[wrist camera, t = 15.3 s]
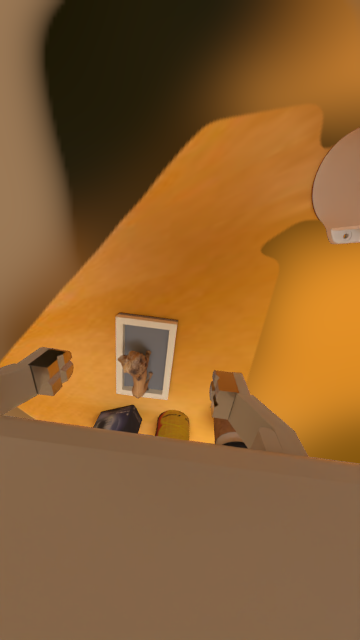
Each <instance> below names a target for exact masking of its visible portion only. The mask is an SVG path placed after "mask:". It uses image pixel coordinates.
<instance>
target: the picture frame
mask: <svg viewBox="0 0 360 640" xmlns="http://www.w3.org/2000/svg"><path fill="white" fill-rule="evenodd" d="M177 323H178V320H173V319H165V318H157V317H150V316H142V315H134V314H126V313H119V314H118V315H117V316H116V394H123V395H131V396H133V394H132V388H133V385H134V382H133V376H131V374H128V373H124V372H123V367H122V365H121V363H120V362H119V361H118V360H117V359H118V358H119V357H120V356H121V355H124V354H125V355H128V354H129V352H130V351H135V352H139V353H143V355H145V354H146V351H148V350H149V351H151V355H150V356H149V362H148V367H147V369H146V370H147V377H148V373H149V372H152V373H153V375H152V377H151V378H150V381H149V383H148V387H147V388H148V390H146V392H145V394H144V395H143V396H142V397H147V398H155V399H163V400H168V392H169V385H170V377H171V369H172V362H173V354H174V346H175V339H176V331H177ZM145 356H146V355H145ZM146 379H147V378H146Z"/></svg>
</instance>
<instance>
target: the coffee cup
mask: <svg viewBox="0 0 360 640" xmlns="http://www.w3.org/2000/svg"><path fill="white" fill-rule="evenodd" d="M214 434H215V444H218V445H225V446H232V447H240V448H247V446H246V445H245V443H244V442H243V441H242V439H241V438H240V436H239V435H238V434H237V432H236V431H235V429H234V428H233V427H232V425H231V424H230V422H229V421H228V420H226V419H220V418H214ZM247 449H248V448H247Z"/></svg>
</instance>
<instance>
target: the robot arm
mask: <svg viewBox="0 0 360 640" xmlns="http://www.w3.org/2000/svg"><path fill="white" fill-rule="evenodd" d="M313 206H314V209H315V212H316V215H317V216H318V218H319V220H320V221H321V222H322V223H323V224H324V226H325V228H326V232H327V237H328V240H329V242H330V243H331V244H345V243H357V242H360V127H359V128H357V129H355V130H354V131H352V132H350V133H349V134H347V135H346V136H345V137H343V138H342V139H341V140H340V141H338V142H337V143H336V144H335V145H334V147H333V148H332V149H331V150H330V151H329V153H328V154H327V155H326V157H325V158H324V160H323V162H322V163H321V165H320V167H319V170H318V172H317V175H316V178H315V181H314V186H313ZM344 234H345V238H343V236H344ZM71 358H72V354H71V352H70V351H66V350H59V349H53V348H52V349H51V348H45V347H42V348H39V349H38V350H36V351H35V352H33V353H32V354H30V355H29V356H27V357H26V358H25V359H23V360H22V361H20V362H19V363H17V364H11V365H8V366H4V367H1V368H0V640H360V464H357V463H349V462H343V461H335V460H328V459H321V458H313V457H308V455H307V453H306V451H305V450H304V448H303V446H302V444H301V442H300V440H299V439H298V437H297V435H296V433H295V431H294V430H292V429H291V428H290V427H289V426H288V425H287V424H286V423H285V422H283V421H282V420H281V419H280V418H279V417H277V416H276V415H275V414H274V413H272V411H271V410H269V409H268V408H267V407H266V406H265V405H264V404H262V403H261V402H260V401H259V400H258V399H257V398H256V397H254V396H253V395H250V393H249V390H248V388H247V385H246V382H245V380H244V377H243V375H242V374H241V373H235V372H224V371H216V370H214V372H213V381H212V382H211V385H210V400H211V401H212V403H211V412H212V417H214V418H220V419H226V420H228V421H229V422H230V424H231V425H232V427H233V428H234V429H235V431H236V432H237V434H238V435H239V436H240V438H241V439H242V441H243V442H244V443H245V445H246V446H247V448H248V449H247V448H240V447H232V446H225V445H218V444H210V443H203V442H195V441H188V440H180V439H173V438H166V437H159V436H151V435H144V434H137V433H129V432H122V431H115V430H107V429H100V428H93V427H85V426H78V425H70V424H63V423H56V422H48V421H41V420H34V419H26V418H19V417H11V416H4V415H3V414H5V413H6V412H8V411H10V410H12V409H13V408H15V407H17V406H19V405H21V404H22V403H24V402H26V401H28V400H29V399H31V398H33V397H35V396H36V395H37V394H40V395H50V396H54V395H55V394H56V393H57V392H58V391H59V390H60V388H61V387H62V383H64V382H66V381H68V379H69V378H70V377H71V375H72V373H73V363H72V362H71V361H70V360H71Z"/></svg>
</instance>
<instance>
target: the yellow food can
mask: <svg viewBox="0 0 360 640" xmlns="http://www.w3.org/2000/svg"><path fill="white" fill-rule="evenodd" d="M155 436H159V437H166V438H173V439H180V440H188V441H189V419H188V417H187V416H186V415H185V414H184V413H182V412H180V411H176V410H169V411H166V412H163V413H162V414H161V415H160V416H159V418H158V422H157V428H156V434H155Z"/></svg>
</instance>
